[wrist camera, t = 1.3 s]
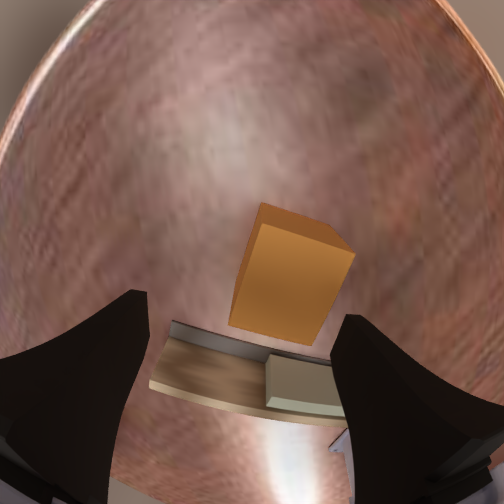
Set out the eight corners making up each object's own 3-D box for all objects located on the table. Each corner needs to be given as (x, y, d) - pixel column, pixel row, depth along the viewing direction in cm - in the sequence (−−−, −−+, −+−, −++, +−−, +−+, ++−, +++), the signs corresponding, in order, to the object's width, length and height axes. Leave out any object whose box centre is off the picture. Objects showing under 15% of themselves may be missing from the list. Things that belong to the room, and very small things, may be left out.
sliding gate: (373, 346, 22) (391, 383, 18) (350, 379, 23) (363, 417, 19) (283, 326, 21) (287, 367, 17) (265, 364, 23) (266, 406, 18)
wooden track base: (369, 367, 24) (386, 408, 18) (355, 387, 25) (368, 428, 19) (172, 319, 22) (151, 363, 17) (167, 344, 23) (149, 388, 18)
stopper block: (329, 224, 19) (355, 253, 14) (299, 297, 21) (311, 346, 16) (261, 202, 19) (262, 222, 13) (236, 279, 21) (227, 325, 15)
